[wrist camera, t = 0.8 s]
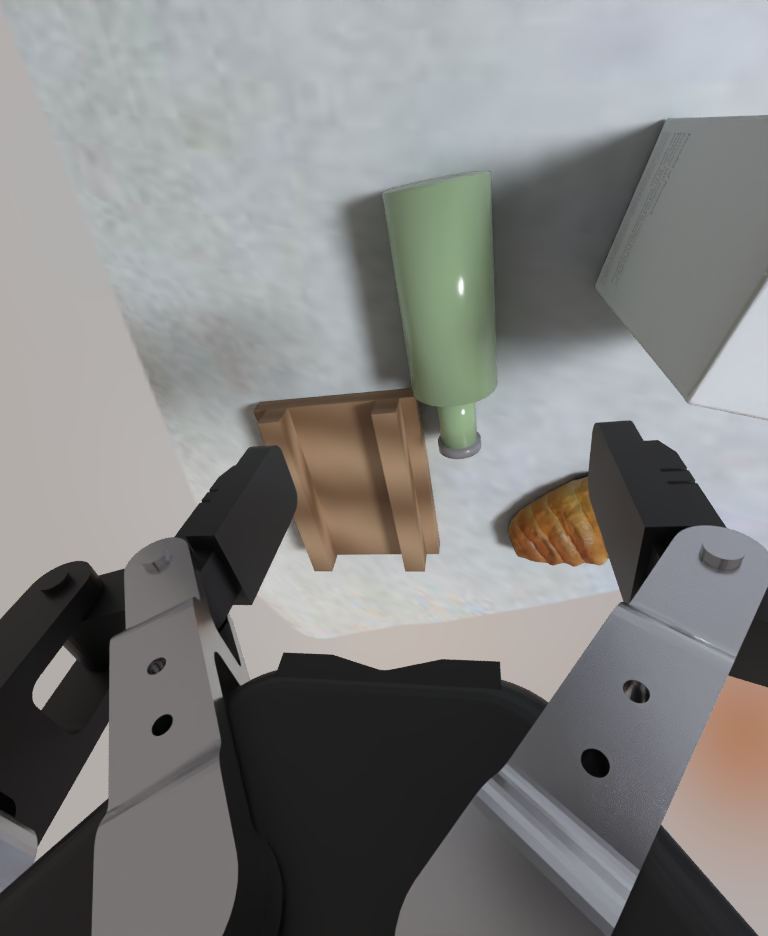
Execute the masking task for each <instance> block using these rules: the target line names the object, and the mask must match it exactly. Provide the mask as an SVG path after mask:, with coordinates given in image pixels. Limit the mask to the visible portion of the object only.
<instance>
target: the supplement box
mask: <svg viewBox="0 0 768 936" xmlns="http://www.w3.org/2000/svg"><path fill="white" fill-rule="evenodd" d="M595 289H596V291H597V292H598V293H599V294H600V295H601V297H602V298H603V299H604V300H605V302H606V303H607V304H608V306H609V307H610V308H611V309H612V310H613V312H614V313H615V314H616V315H617V316H618V318H619V319H620V320H621V321H622V323H623V324H624V325H625V326H626V327H627V329H628V330H629V331H630V332H631V333H632V335H633V336H634V337H635V338H636V339H637V341H638V342H639V343H640V344H641V346H642V347H643V348H644V349H645V351H646V352H647V353H648V354H649V356H650V357H651V358H652V359H653V360H654V362H655V363H656V364H657V365H658V366H659V368H660V369H661V370H662V372H663V373H664V374H665V375H666V376H667V378H668V379H669V380H670V381H671V383H672V384H673V385H674V386H675V388H676V389H677V390H678V391H679V392H680V394H681V395H682V396H683V398H684V399H685V401H686V402H687V403H688V404H692V405H696V406H701V407H706V408H711V409H716V410H721V411H725V412H730V413H735V414H739V415H744V416H749V417H754V418H759V419H764V420H768V115H760V116H731V117H705V118H668V119H667V120H666V121H665V123H664V126H663V128H662V130H661V132H660V135H659V137H658V139H657V142H656V144H655V146H654V149H653V151H652V153H651V155H650V158H649V160H648V162H647V165H646V167H645V170H644V172H643V174H642V177H641V179H640V181H639V184H638V186H637V188H636V190H635V192H634V195H633V197H632V200H631V202H630V205H629V207H628V209H627V211H626V214H625V216H624V218H623V220H622V223H621V225H620V228H619V230H618V232H617V235H616V237H615V239H614V242H613V244H612V246H611V249H610V251H609V253H608V256H607V258H606V261H605V263H604V265H603V267H602V270H601V272H600V275H599V277H598V279H597V282H596V284H595Z"/></svg>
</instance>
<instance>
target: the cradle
mask: <svg viewBox="0 0 768 936" xmlns="http://www.w3.org/2000/svg"><path fill="white" fill-rule="evenodd" d="M254 414H255V416H256V419H257V421H258V423H257V425H258V428H259V430H260V433H261V435H262V438H263V440H264V443H265V446H270V445H277V446H279V447H280V449H281V450H282V452H283V455H284V458H285V460H286V463H287V466H288V469H289V471H290V474H291V477H292V479H293V482H294V485H295V488H296V491H297V508H296V512H295V514H294V516H293V517H294V520H295V522H296V525H297V527H298V530H299V532H300V535H301V537H302V540H303V543H304V545H305V548H306V550H307V553H308V555H309V558H310V560H311V563H312V565H313V568H314V571H332V570H333V567H334V564H335V561H336V558H337V555H346V554H402V558H403V562H404V567H405V571H425V563H426V554H439V547H440V541H439V534H438V527H437V520H436V513H435V506H434V500H433V493H432V486H431V479H430V472H429V465H428V458H427V451H426V445H425V438H424V431H423V424H422V417H421V410H420V403H419V401H418V400H417V399H416V398H415V397H414V395H413V392H412V388H410V389H399V390H388V391H377V392H366V393H355V394H344V395H333V396H322V397H311V398H301V399H290V400H279V401H268V402H260V403H259V404H258V405H257V407H256V408H255V409H254Z"/></svg>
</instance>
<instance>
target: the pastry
mask: <svg viewBox="0 0 768 936" xmlns="http://www.w3.org/2000/svg"><path fill="white" fill-rule="evenodd" d="M508 533H509V537H510V540H511V542H512V544H513V547H514V550H515V552H516V554H517V556H518V557H522V558H526V559H529V560H531V561H535V562H545V563H549V564H550V565H556V564H560V563H567V564H569V565H571V566H578V565H580V564H582V563H589V564H596V565H602V564H604V563H605V562H606V561H607V559H608V558H609V556H608V553H607V550H606V547H605V544H604V541H603V538H602V535H601V532H600V529H599V526H598V523H597V520H596V517H595V514H594V511H593V508H592V505H591V502H590V498H589V491H588V476H587V477H585V478H582V479H578V480H572V481H569V482H568V483H566V484H564V485H561V486H559V487H558V488H556V489H554V490H552V491H550V492H548V493H546V494H545V495H543V496H542V497H540V498H538V499H536V500H535V501H533V502H531V503H530V504H528V505H527V506H525V507H524V508H522V509H521V510H520V511H519V512H518V513H517V514H516V516H515V517H514V518H513V519H512V520H511V522H510V524H509V528H508Z"/></svg>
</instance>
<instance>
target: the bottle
mask: <svg viewBox="0 0 768 936" xmlns="http://www.w3.org/2000/svg"><path fill="white" fill-rule="evenodd" d="M382 195H383V202H384V208H385V215H386V221H387V228H388V235H389V241H390V248H391V254H392V261H393V267H394V274H395V280H396V287H397V293H398V300H399V307H400V313H401V320H402V326H403V333H404V339H405V346H406V352H407V359H408V365H409V372H410V379H411V385H412V392H413V395H414V397H415V398H416V399H417V400H418V401H420V402H422V403H424V404H427V405H431V406H437V410H438V418H439V426H440V437H439V439H438V445H439V451H440V453H441V454H442V455H443V456H445V457H448V458H451V459H464V458H468V457H471V456H473V455H475V454H476V453H478V452H479V450H480V449H481V437H480V434H479V433H478V432H477V426H476V411H475V402H477V401H479V400H481V399H484V398H485V397H487V396H489V395H490V394H491V393H492V392H493V391H494V390H495V389H496V387H497V353H496V321H495V289H494V258H493V226H492V195H491V171H476V172H468V173H462V174H455V175H450V176H445V177H440V178H435V179H429V180H424V181H420V182H415V183H411V184H407V185H403V186H400V187H396V188H393V189H390V190H387V191H384V192H383V193H382Z"/></svg>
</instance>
